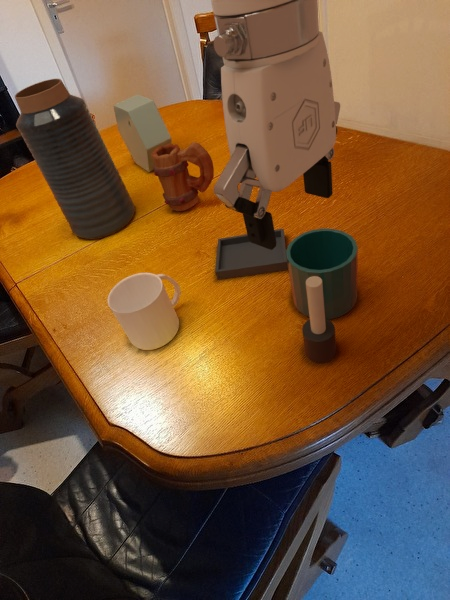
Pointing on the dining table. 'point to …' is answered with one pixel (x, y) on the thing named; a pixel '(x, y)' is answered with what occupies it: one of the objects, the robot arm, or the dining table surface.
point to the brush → (318, 325)
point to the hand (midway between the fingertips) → (292, 218)
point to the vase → (73, 159)
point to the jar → (324, 269)
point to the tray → (249, 257)
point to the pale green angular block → (141, 129)
